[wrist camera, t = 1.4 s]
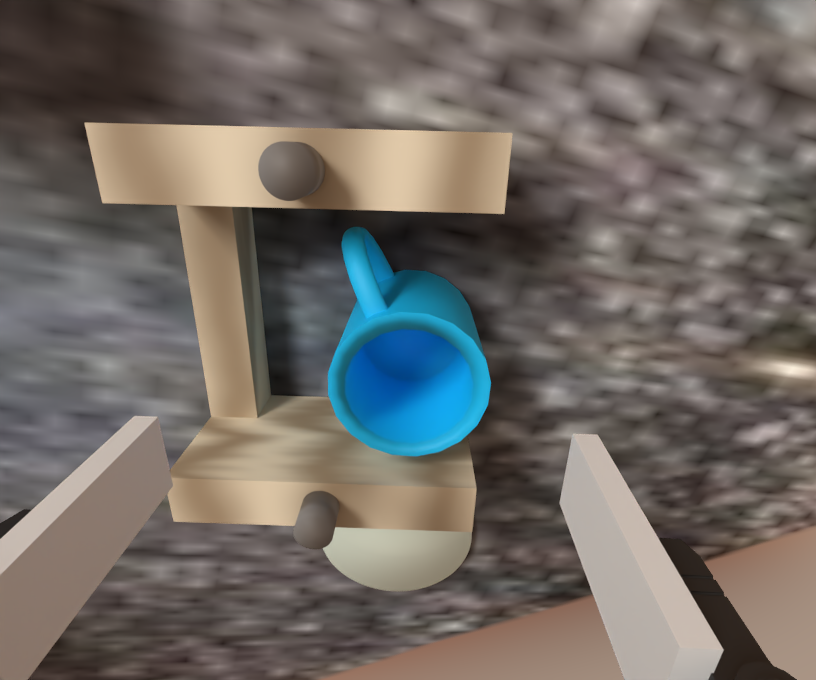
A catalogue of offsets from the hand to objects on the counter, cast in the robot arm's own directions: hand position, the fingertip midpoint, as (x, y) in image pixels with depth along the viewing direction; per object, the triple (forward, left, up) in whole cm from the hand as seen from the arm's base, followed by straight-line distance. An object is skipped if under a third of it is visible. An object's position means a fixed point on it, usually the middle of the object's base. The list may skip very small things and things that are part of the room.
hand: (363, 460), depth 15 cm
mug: (+1, 0, -17) cm, 17 cm away
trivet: (+1, -19, -16) cm, 25 cm away
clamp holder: (-3, 0, -16) cm, 17 cm away
